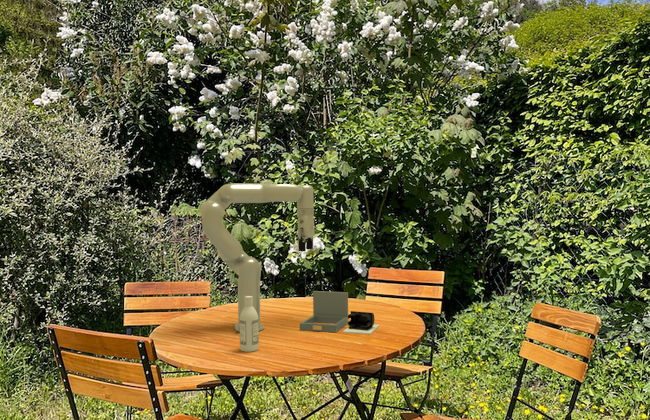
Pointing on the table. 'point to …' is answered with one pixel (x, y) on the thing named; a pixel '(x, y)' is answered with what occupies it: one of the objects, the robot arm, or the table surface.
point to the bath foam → (249, 327)
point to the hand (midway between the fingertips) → (305, 250)
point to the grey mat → (361, 330)
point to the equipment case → (327, 312)
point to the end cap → (361, 320)
